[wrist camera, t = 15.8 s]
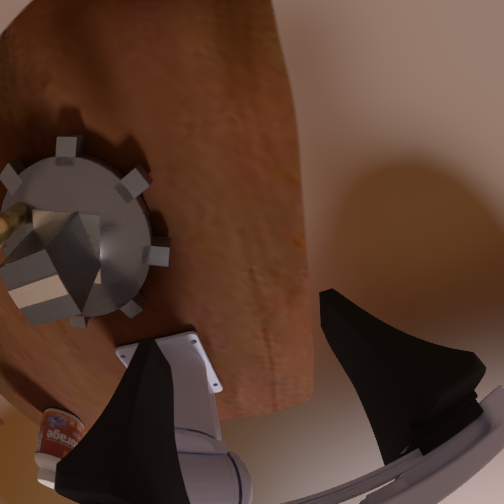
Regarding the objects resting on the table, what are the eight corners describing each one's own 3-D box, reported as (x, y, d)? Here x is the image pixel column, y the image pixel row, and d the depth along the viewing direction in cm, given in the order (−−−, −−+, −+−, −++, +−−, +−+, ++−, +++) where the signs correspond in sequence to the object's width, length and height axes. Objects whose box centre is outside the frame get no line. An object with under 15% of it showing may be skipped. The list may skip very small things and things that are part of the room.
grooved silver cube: (101, 265, 17) (81, 315, 13) (56, 279, 17) (31, 327, 13) (77, 210, 15) (44, 250, 11) (32, 229, 15) (-5, 270, 11)
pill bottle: (90, 420, 29) (84, 493, 19) (76, 432, 30) (71, 496, 21) (49, 401, 26) (35, 474, 17) (40, 415, 27) (28, 479, 18)
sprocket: (184, 142, 17) (181, 156, 12) (164, 324, 23) (163, 376, 18) (-6, 136, 13) (-53, 153, 8) (14, 303, 19) (-9, 346, 14)
